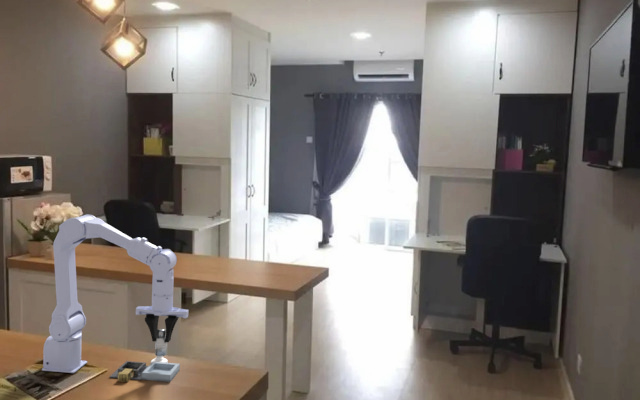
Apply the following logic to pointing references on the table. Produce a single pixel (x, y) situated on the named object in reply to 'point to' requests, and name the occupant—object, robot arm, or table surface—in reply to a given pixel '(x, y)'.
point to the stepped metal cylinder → (161, 343)
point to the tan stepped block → (125, 375)
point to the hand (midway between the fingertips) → (161, 340)
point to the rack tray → (161, 371)
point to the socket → (131, 365)
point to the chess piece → (159, 359)
